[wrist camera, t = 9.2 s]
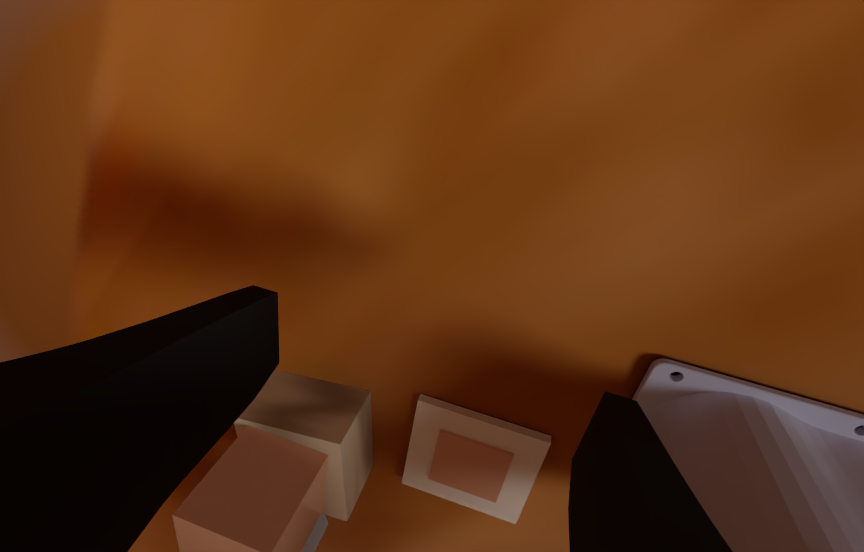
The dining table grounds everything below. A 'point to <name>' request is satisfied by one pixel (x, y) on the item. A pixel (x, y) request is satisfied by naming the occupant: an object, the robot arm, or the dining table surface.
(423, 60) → the dining table surface
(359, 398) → the birch base block
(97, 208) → the dining table surface
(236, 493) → the terracotta block
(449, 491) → the tile
